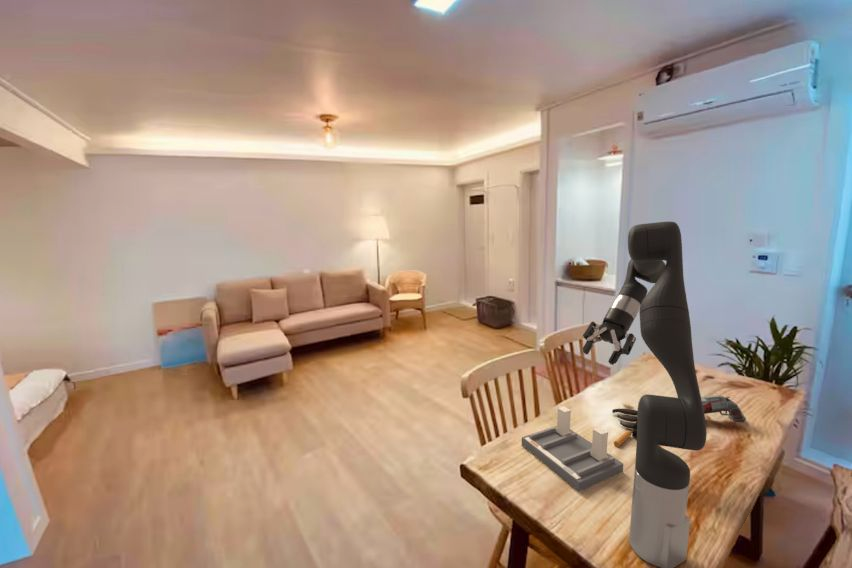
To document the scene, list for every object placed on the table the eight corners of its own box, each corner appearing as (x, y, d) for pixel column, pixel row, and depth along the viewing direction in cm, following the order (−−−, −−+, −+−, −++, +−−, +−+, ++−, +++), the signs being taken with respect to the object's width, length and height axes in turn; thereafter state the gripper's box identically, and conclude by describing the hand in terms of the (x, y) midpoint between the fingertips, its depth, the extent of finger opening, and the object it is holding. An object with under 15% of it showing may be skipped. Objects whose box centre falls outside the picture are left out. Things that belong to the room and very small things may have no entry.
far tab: (570, 435, 114) (571, 410, 113) (564, 437, 113) (565, 412, 112) (561, 429, 117) (562, 405, 116) (555, 431, 116) (556, 407, 115)
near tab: (607, 459, 103) (609, 432, 101) (601, 462, 102) (602, 435, 100) (596, 452, 106) (598, 426, 104) (590, 455, 105) (591, 428, 103)
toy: (676, 473, 103) (699, 425, 123) (677, 461, 102) (700, 415, 123) (590, 439, 118) (623, 402, 139) (590, 429, 118) (624, 393, 138)
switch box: (622, 472, 102) (623, 459, 101) (578, 491, 95) (579, 478, 95) (561, 431, 122) (562, 420, 121) (521, 444, 115) (521, 433, 114)
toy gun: (674, 423, 131) (671, 396, 129) (739, 416, 127) (737, 388, 126) (681, 430, 127) (677, 402, 125) (748, 423, 123) (745, 395, 121)
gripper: (596, 301, 121) (571, 345, 119) (640, 313, 109) (614, 361, 107) (605, 313, 125) (582, 355, 123) (649, 325, 114) (624, 372, 111)
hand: (597, 358), depth 115 cm, fingers open, 8 cm apart
